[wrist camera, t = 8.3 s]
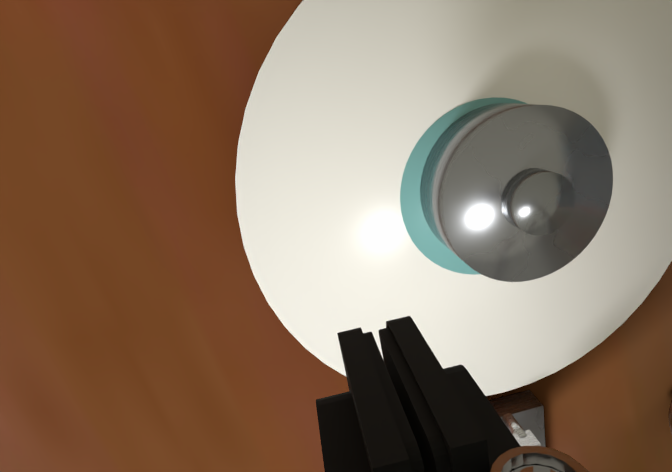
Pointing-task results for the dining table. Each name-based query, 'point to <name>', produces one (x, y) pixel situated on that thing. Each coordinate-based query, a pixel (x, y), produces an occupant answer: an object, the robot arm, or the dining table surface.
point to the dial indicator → (522, 417)
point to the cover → (517, 189)
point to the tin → (670, 417)
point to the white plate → (409, 159)
